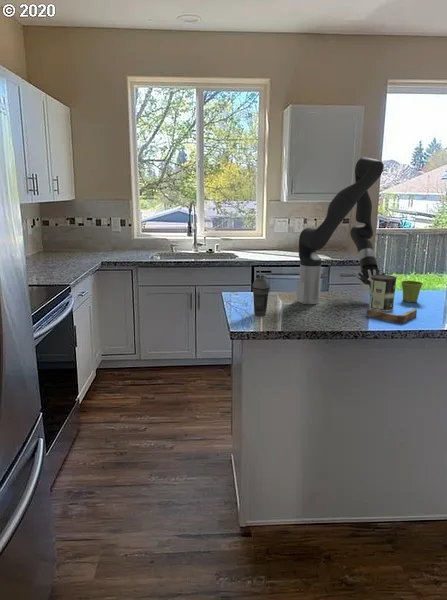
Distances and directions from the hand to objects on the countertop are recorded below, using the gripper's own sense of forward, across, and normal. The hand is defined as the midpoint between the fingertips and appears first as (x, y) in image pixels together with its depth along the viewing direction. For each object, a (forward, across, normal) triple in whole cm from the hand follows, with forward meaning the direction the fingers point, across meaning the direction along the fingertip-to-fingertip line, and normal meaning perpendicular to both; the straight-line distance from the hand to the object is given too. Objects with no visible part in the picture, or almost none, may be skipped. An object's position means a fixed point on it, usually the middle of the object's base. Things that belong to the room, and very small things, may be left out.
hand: (374, 291), depth 205 cm
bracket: (+22, 0, -14) cm, 26 cm away
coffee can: (+10, 0, -2) cm, 11 cm away
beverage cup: (+17, -54, -9) cm, 57 cm away
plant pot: (+1, +19, +7) cm, 20 cm away
